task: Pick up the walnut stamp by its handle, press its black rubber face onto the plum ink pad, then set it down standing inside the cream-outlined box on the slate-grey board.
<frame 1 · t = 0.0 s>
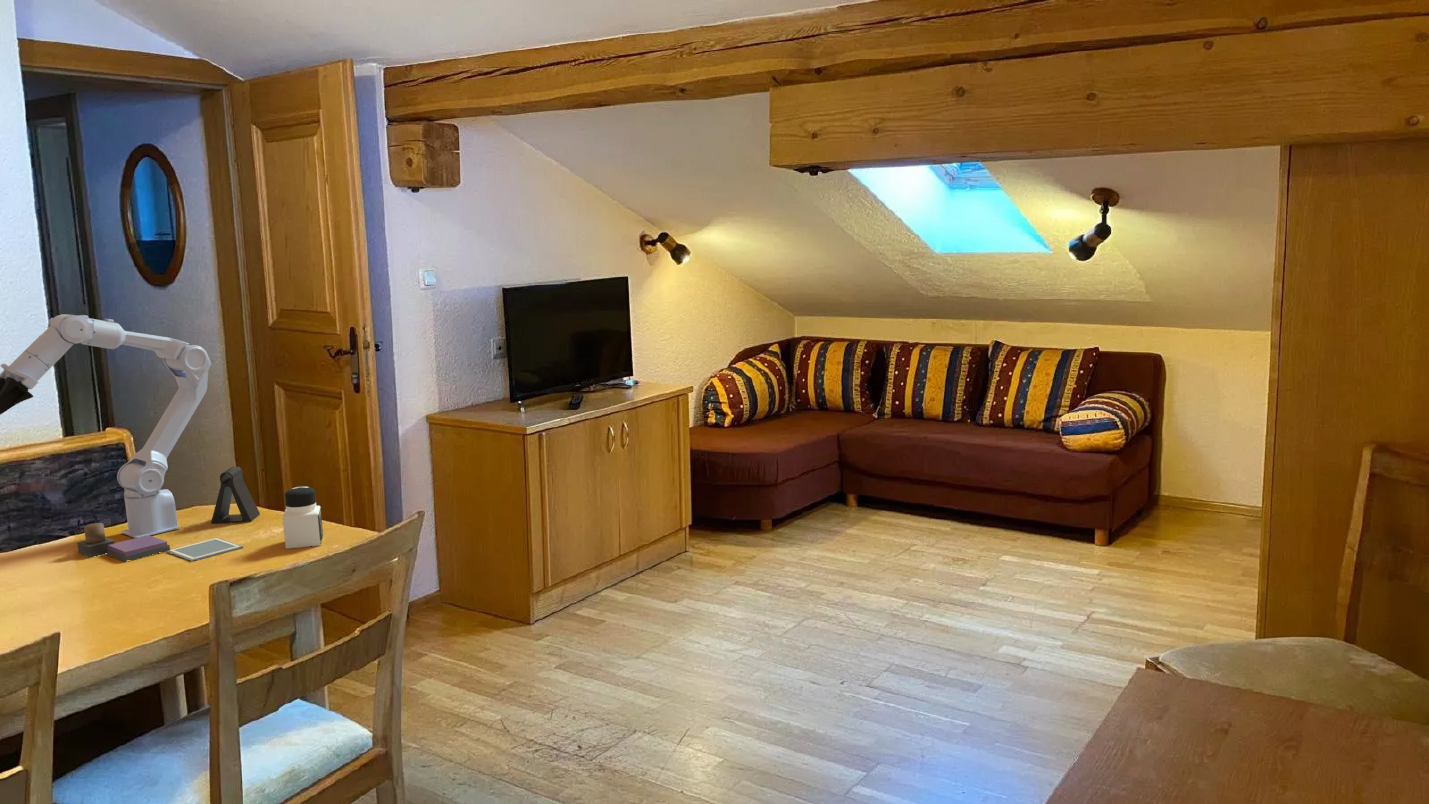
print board: (205, 550, 227), on the table
stamp: (97, 552, 228), on the table
ink pad: (138, 552, 227), on the table
medicine bottle: (304, 543, 230), on the table
dark grey triangular stand: (236, 520, 250), on the table
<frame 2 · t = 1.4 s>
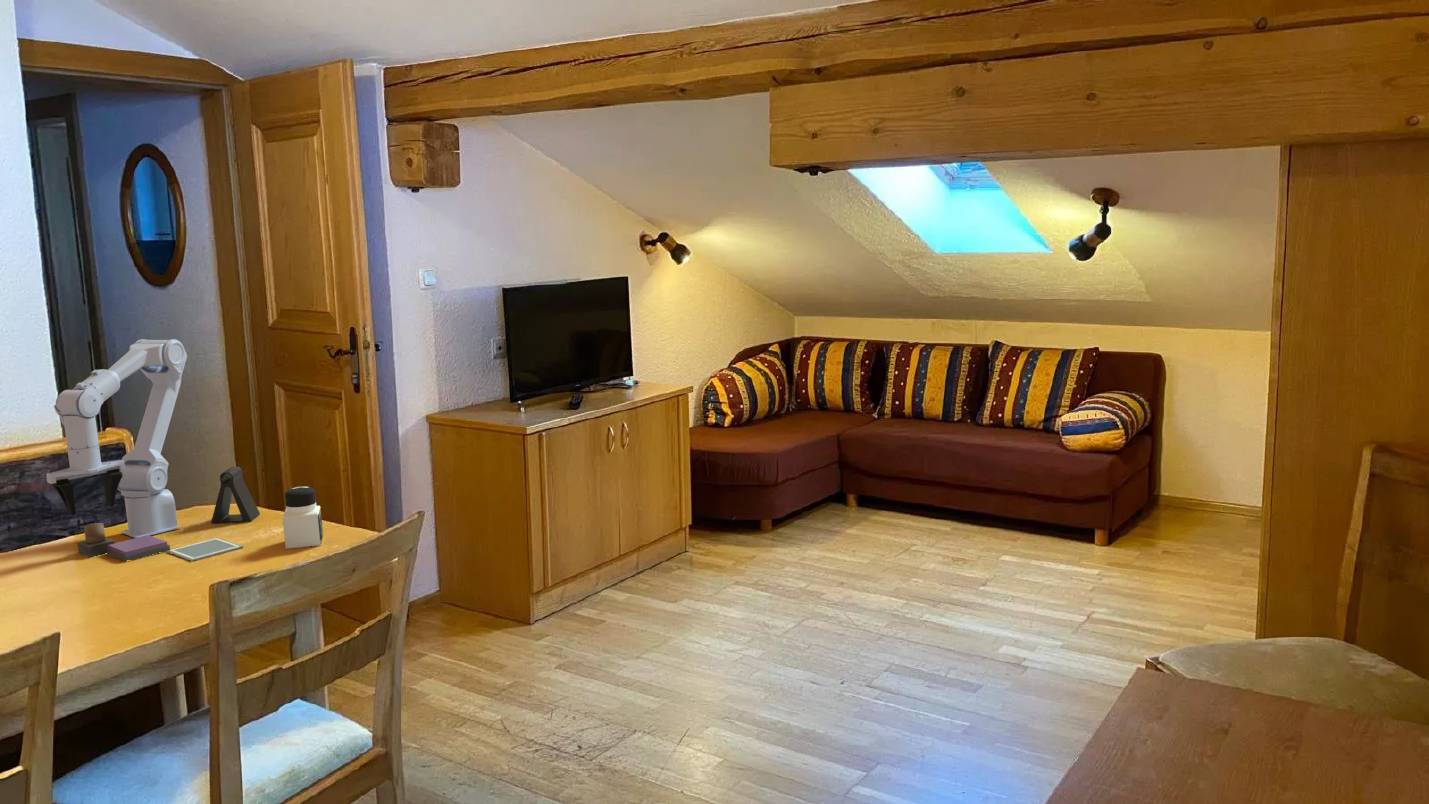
hand: (91, 509, 226), 9 cm above the table, tool pointing down, fingers open, 7 cm apart
nothing on the table moved.
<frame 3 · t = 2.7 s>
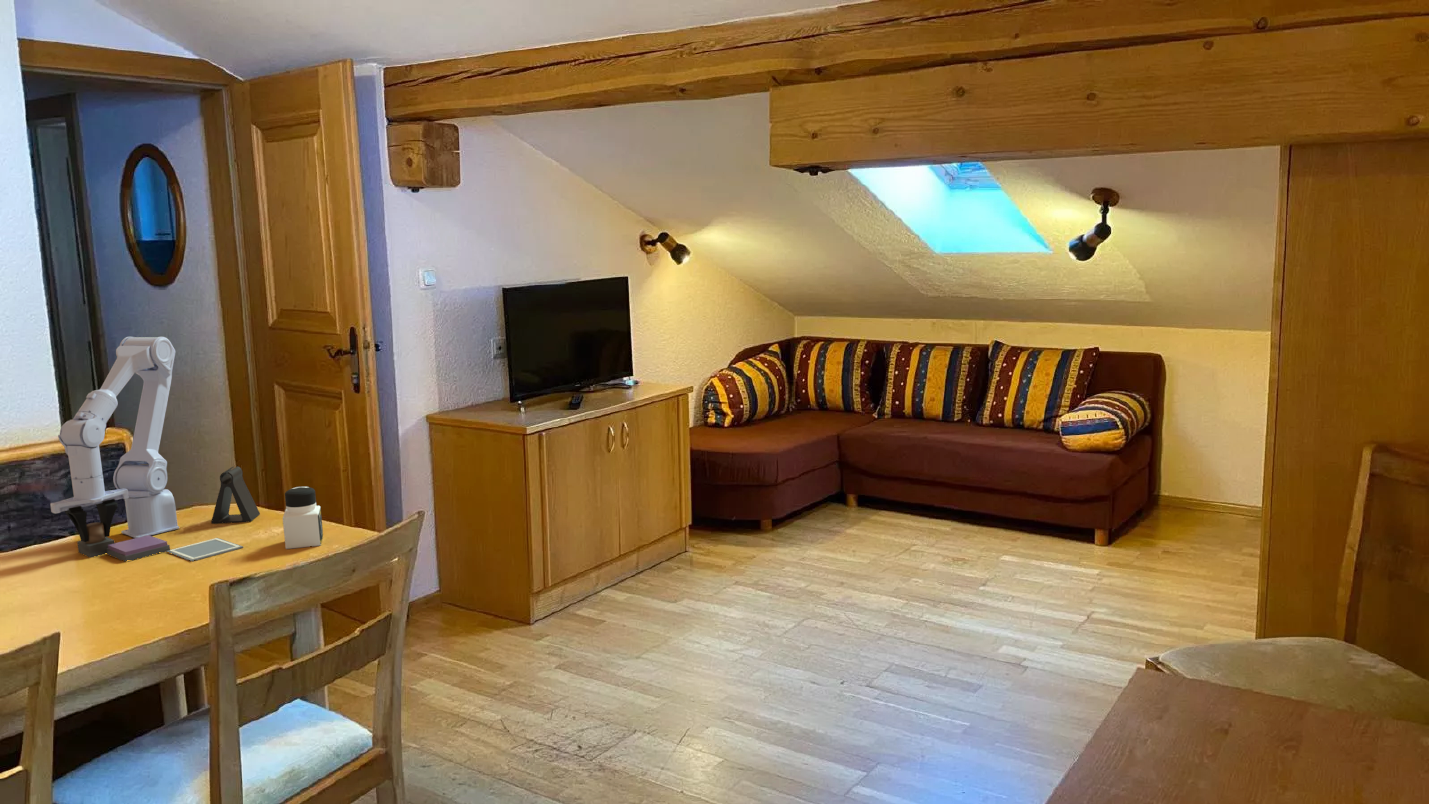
hand: (95, 538, 227), 3 cm above the table, tool pointing down, fingers closed on stamp, 4 cm apart
stamp: (97, 552, 228), on the table, touching gripper
everything else where it was.
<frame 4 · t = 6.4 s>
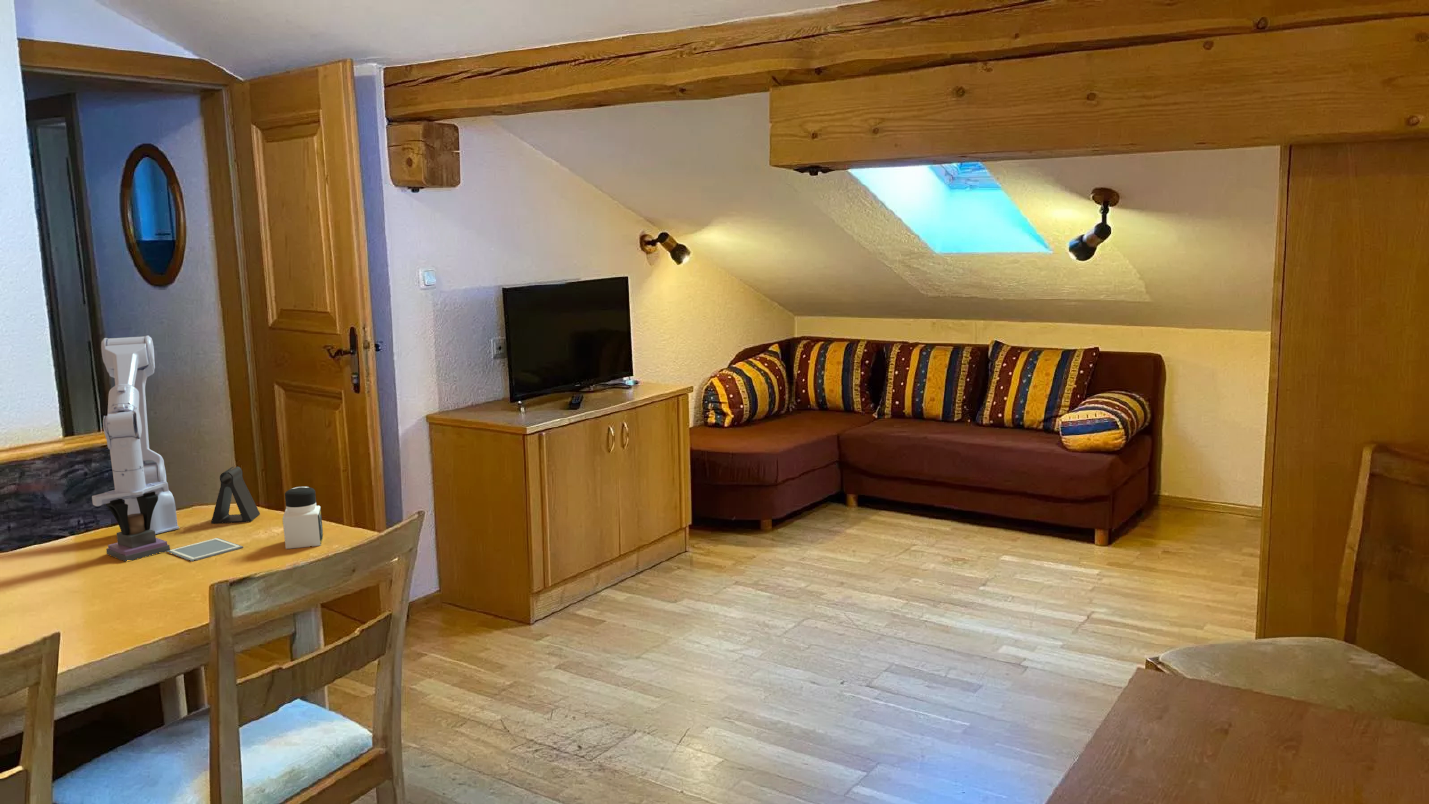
hand: (135, 531, 226), 5 cm above the table, tool pointing down, fingers closed on stamp, 4 cm apart
stamp: (137, 543, 226), point 2 cm above the table, touching gripper, ink pad
everything else where it was.
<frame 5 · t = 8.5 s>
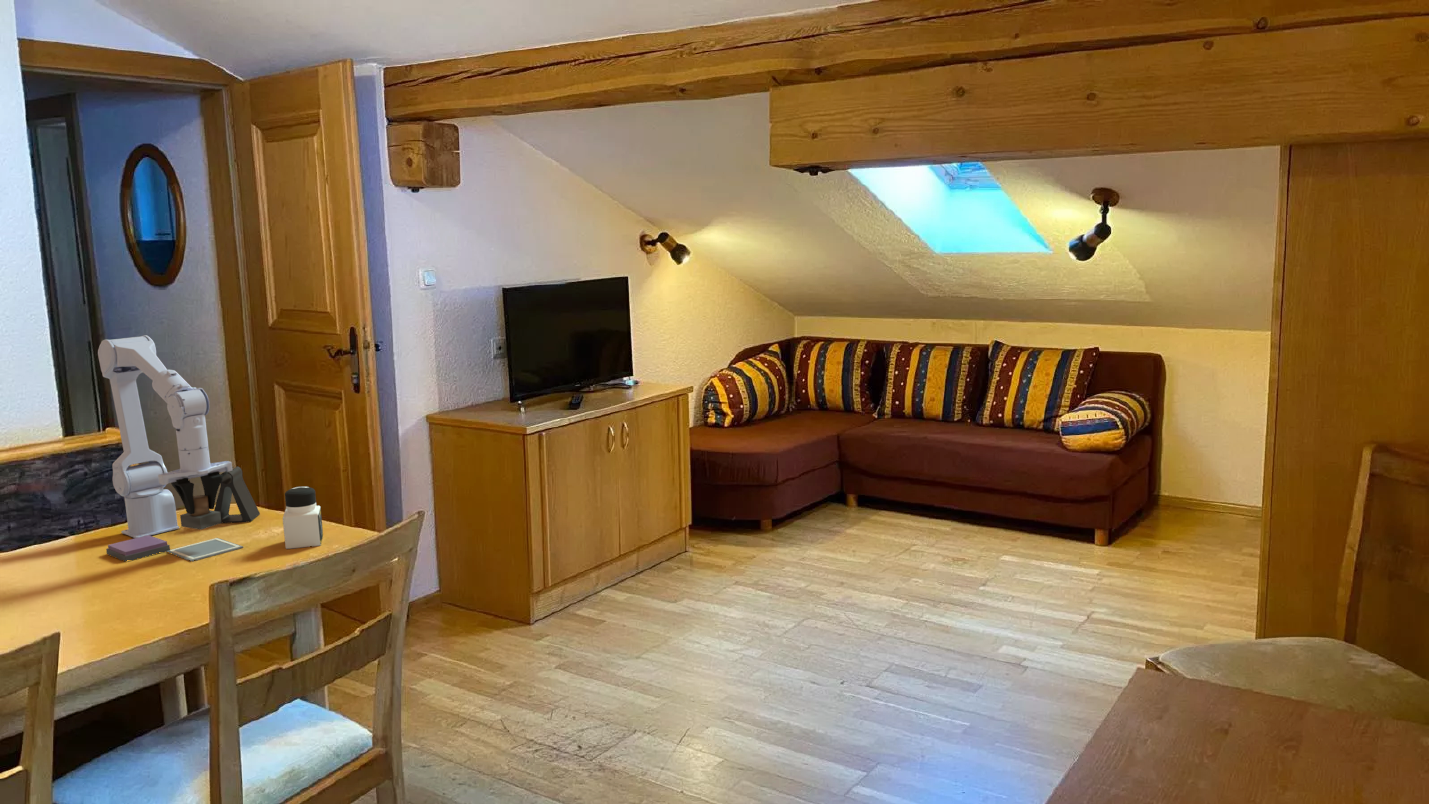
hand: (200, 510, 226), 9 cm above the table, tool pointing down, fingers closed on stamp, 4 cm apart
stamp: (201, 524, 226), point 5 cm above the table, touching gripper
everything else where it was.
when the fingers open (3 cm above the table, at t = 10.0 s): stamp stays where it is, resting on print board.
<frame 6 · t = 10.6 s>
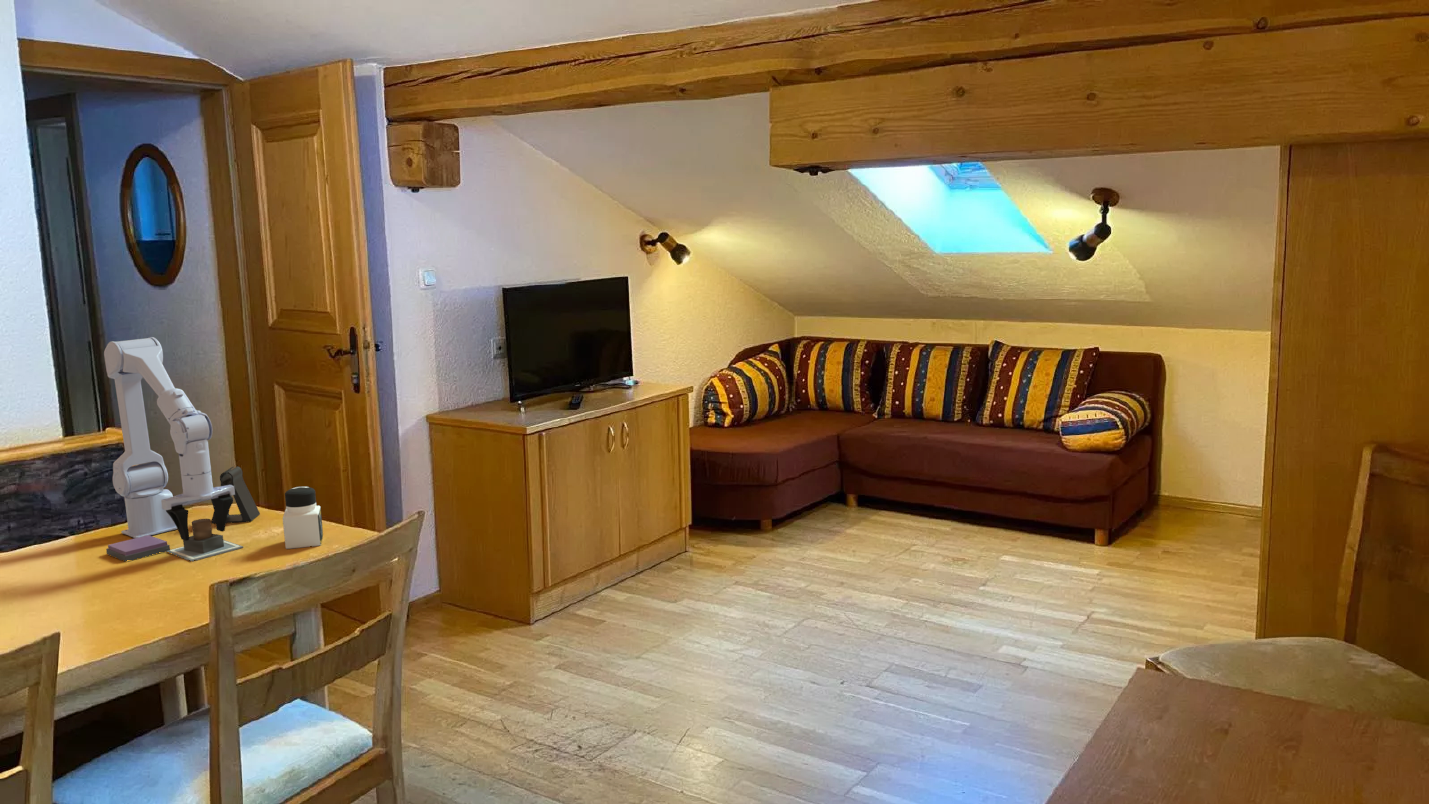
hand: (203, 535, 226), 3 cm above the table, tool pointing down, fingers open, 7 cm apart
stamp: (204, 548, 227), resting on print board
everything else where it was.
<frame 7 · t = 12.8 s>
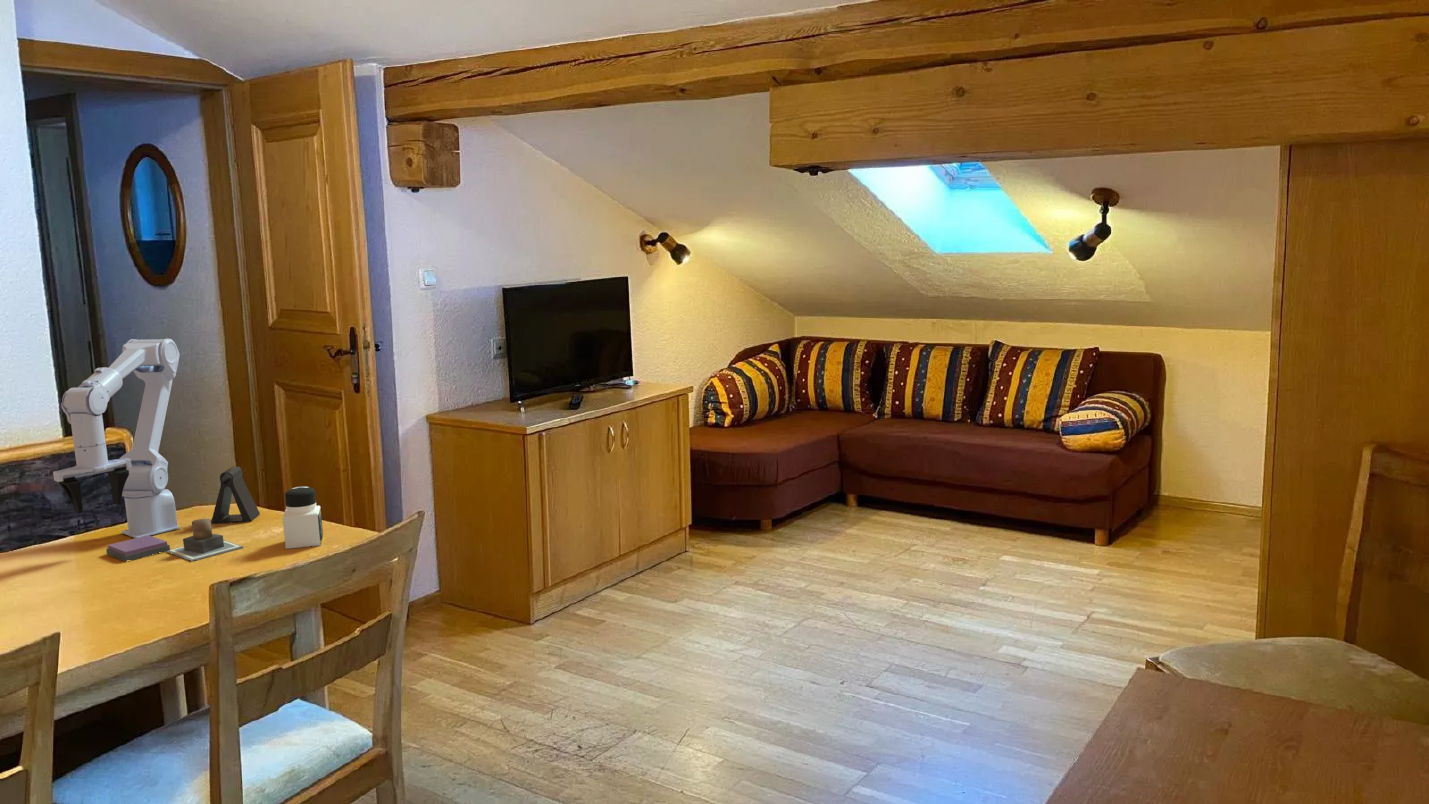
hand: (98, 507, 225), 10 cm above the table, tool pointing down, fingers open, 7 cm apart
nothing on the table moved.
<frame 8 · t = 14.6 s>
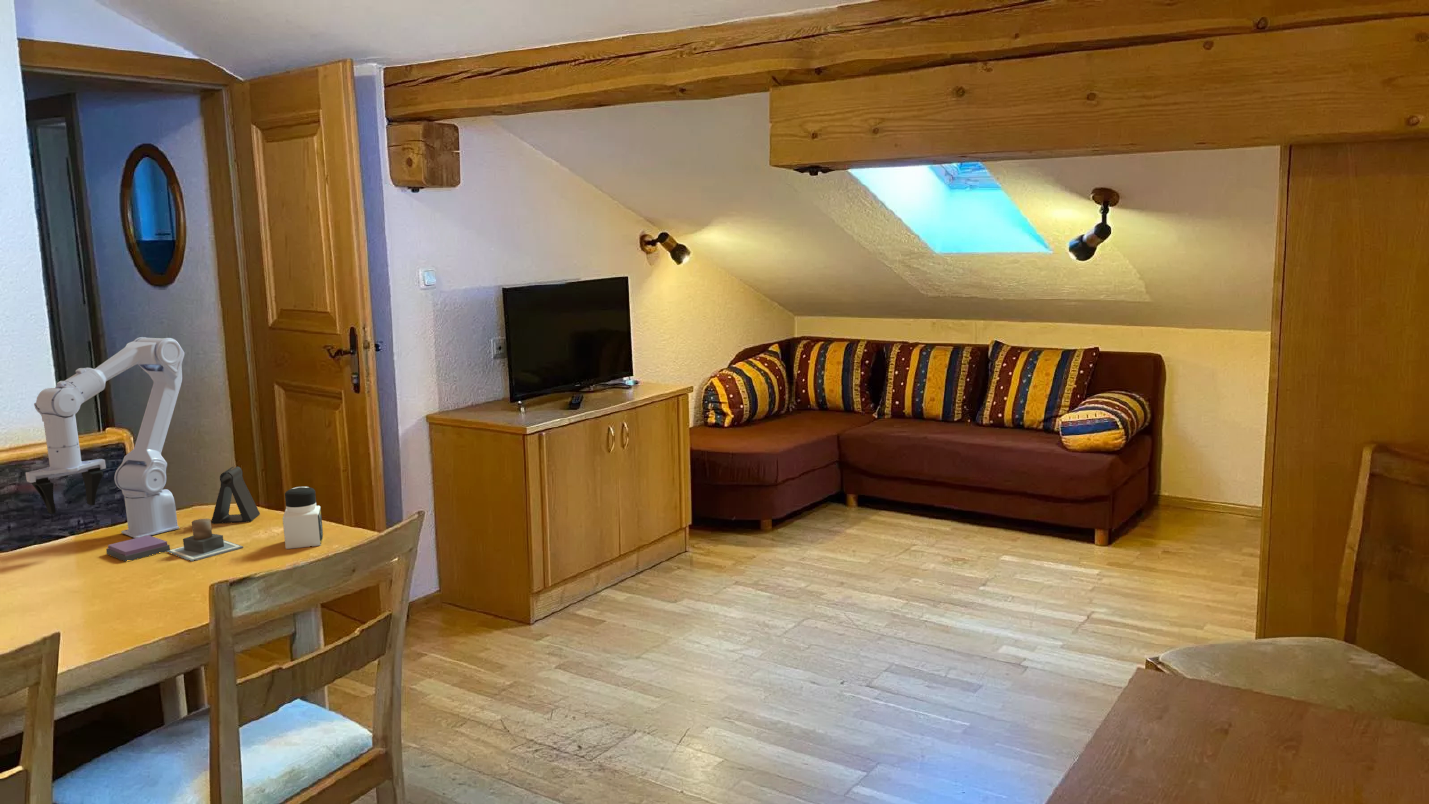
hand: (71, 508, 225), 10 cm above the table, tool pointing down, fingers open, 7 cm apart
nothing on the table moved.
at the end: stamp 0.3 cm off-centre on the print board, point 0.3 cm above the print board's base; stamp tilted 0°; the gripper is holding nothing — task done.
